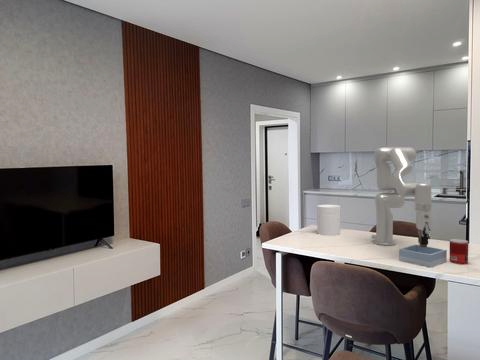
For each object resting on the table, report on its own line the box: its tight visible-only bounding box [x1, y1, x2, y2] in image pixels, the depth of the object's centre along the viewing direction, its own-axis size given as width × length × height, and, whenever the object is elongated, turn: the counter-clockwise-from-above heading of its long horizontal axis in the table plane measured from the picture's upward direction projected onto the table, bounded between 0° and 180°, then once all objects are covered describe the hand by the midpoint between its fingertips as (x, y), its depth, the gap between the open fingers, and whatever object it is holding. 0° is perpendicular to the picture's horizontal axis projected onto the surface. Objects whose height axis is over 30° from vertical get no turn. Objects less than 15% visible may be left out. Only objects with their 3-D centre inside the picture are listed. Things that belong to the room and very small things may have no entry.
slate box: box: [398, 244, 448, 268], centre depth 183 cm, size 16×16×6 cm
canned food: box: [449, 238, 469, 265], centre depth 180 cm, size 8×8×11 cm
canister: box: [316, 204, 341, 237], centre depth 257 cm, size 16×16×20 cm
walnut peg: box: [418, 229, 428, 248], centre depth 182 cm, size 4×4×10 cm
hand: (423, 243), depth 182 cm, fingers closed on walnut peg, 3 cm apart
